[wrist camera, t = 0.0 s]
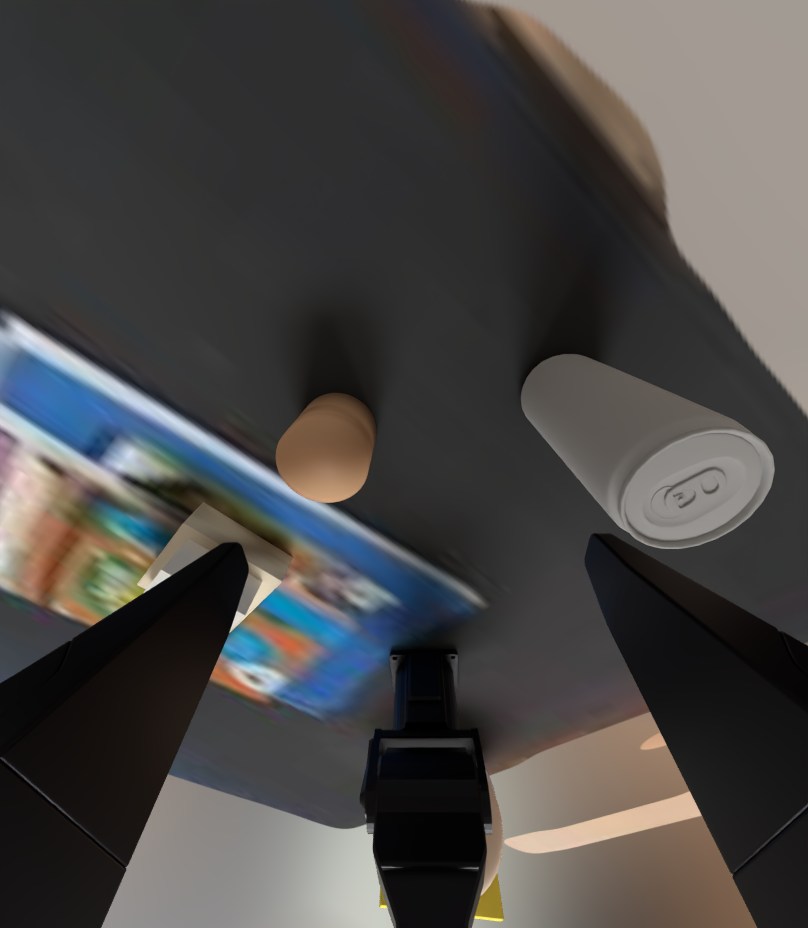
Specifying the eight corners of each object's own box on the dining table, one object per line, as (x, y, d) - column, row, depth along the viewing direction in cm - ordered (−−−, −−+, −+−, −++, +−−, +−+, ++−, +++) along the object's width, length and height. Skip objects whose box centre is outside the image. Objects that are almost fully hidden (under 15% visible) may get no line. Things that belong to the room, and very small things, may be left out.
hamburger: (498, 743, 42) (528, 903, 31) (472, 775, 45) (491, 927, 35) (400, 726, 40) (396, 886, 30) (382, 760, 44) (373, 914, 33)
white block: (262, 581, 26) (245, 615, 24) (223, 620, 29) (203, 655, 26) (188, 538, 25) (161, 569, 22) (153, 583, 27) (124, 616, 24)
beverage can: (503, 383, 22) (591, 482, 11) (576, 333, 20) (758, 390, 10) (540, 440, 23) (648, 573, 13) (610, 397, 22) (796, 506, 11)
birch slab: (294, 553, 29) (282, 581, 26) (245, 603, 32) (229, 632, 29) (206, 498, 27) (183, 522, 24) (161, 557, 30) (136, 584, 27)
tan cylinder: (379, 461, 24) (372, 501, 20) (308, 464, 25) (286, 504, 20) (373, 390, 22) (363, 418, 18) (295, 394, 22) (266, 422, 18)
